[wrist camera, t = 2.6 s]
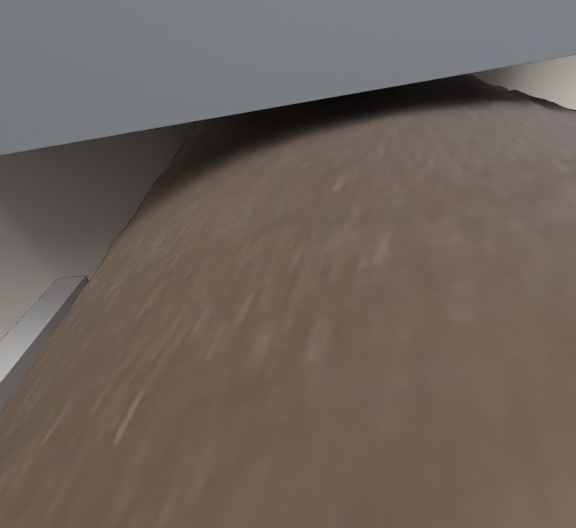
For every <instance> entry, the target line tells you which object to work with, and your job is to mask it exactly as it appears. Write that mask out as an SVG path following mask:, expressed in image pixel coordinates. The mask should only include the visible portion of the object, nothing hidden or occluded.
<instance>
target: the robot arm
mask: <svg viewBox="0 0 576 528" xmlns="http://www.w3.org/2000/svg"><path fill="white" fill-rule="evenodd" d="M88 283H89V280H88V278H87V276H86V275H82V276H75V277H69V278H62V279H56V280H55V281H54V283H53V284H52V285H51V286H50V287H49V288H48V289H47V290H46V291H45V293H44V294H43V295H42V296H41V297H40V298H39V299H38V300H37V301H36V303H35V304H34V305H33V306H32V307H31V308H30V309H29V310H28V311H27V313H26V314H25V315H24V316H23V317H22V318H21V319H20V320H19V321H18V323H17V324H16V325H15V326H14V327H13V328H12V329H11V330H10V331H9V333H8V334H7V335H6V336H5V337H4V338H3V339H2V340H1V341H0V412H1V411H2V409H3V408H4V406H5V405H6V403H7V402H8V400H9V398H10V397H11V395H12V394H13V393H14V391H15V390H16V388H17V387H18V385H19V384H20V382H21V380H22V379H23V377H24V376H25V374H26V372H27V371H28V369H29V368H30V366H31V364H32V363H33V361H34V360H35V358H36V357H37V355H38V353H39V352H40V350H41V349H42V347H43V346H44V345H45V343H46V342H47V341H48V339H49V338H50V337H51V335H52V334H53V333H54V331H55V330H56V329H57V328H58V326H59V325H60V324H61V322H62V321H63V319H64V318H65V316H66V315H67V313H68V311H69V310H70V308H71V307H72V305H73V304H74V302H75V301H76V299H77V297H78V295H79V294H80V292H81V291H82V290H83V288H84V287H85V286H86V285H87V284H88Z"/></svg>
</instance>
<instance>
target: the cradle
mask: <svg viewBox="0 0 576 528" xmlns="http://www.w3.org/2000/svg"><path fill="white" fill-rule="evenodd" d="M571 55H576V0H0V155H5V154H10V153H16V152H22V151H27V150H33V149H39V148H45V147H50V146H56V145H62V144H68V143H73V142H79V141H85V140H90V139H96V138H102V137H108V136H113V135H119V134H125V133H130V132H136V131H142V130H148V129H153V128H159V127H165V126H170V125H176V124H182V123H188V122H193V121H199V120H205V119H210V118H216V117H222V116H228V115H233V114H239V113H245V112H251V111H256V110H262V109H268V108H273V107H279V106H285V105H291V104H296V103H302V102H308V101H313V100H319V99H325V98H331V97H336V96H342V95H348V94H353V93H359V92H365V91H371V90H376V89H382V88H388V87H393V86H399V85H405V84H411V83H416V82H422V81H428V80H434V79H439V78H445V77H451V76H456V75H462V74H468V73H474V72H479V71H485V70H491V69H496V68H502V67H508V66H514V65H519V64H525V63H531V62H536V61H542V60H548V59H554V58H559V57H565V56H571Z"/></svg>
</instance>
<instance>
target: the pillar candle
mask: <svg viewBox="0 0 576 528" xmlns="http://www.w3.org/2000/svg"><path fill="white" fill-rule="evenodd" d="M0 528H576V110H572V109H567V108H565V107H562V106H560V105H558V104H556V103H554V102H550V101H547V100H545V99H540V98H536V97H532V96H529V95H527V94H525V93H522V92H519V91H517V90H512V91H509V90H508V89H506V88H504V87H502V86H493V85H490V84H487V83H484V82H483V81H482V80H480V79H478V78H477V77H476V76H474V75H473V74H462V75H456V76H451V77H445V78H439V79H434V80H428V81H422V82H416V83H411V84H405V85H399V86H393V87H388V88H382V89H376V90H371V91H365V92H359V93H353V94H348V95H342V96H336V97H331V98H325V99H319V100H313V101H308V102H302V103H296V104H291V105H285V106H279V107H273V108H268V109H262V110H256V111H251V112H245V113H239V114H233V115H228V116H222V117H216V118H210V119H205V120H199V121H198V123H197V124H196V125H195V127H194V128H193V130H192V131H191V133H190V134H189V136H188V137H187V139H186V140H185V142H184V143H183V144H182V146H181V148H180V149H179V150H178V152H177V153H176V155H175V156H174V158H173V159H172V161H171V162H170V164H169V166H168V168H167V169H166V171H165V172H164V174H162V175H161V176H160V177H159V178H158V179H157V181H156V183H155V184H154V185H153V187H152V189H151V191H150V192H149V193H148V195H147V196H146V197H145V199H144V201H143V202H142V204H141V206H140V207H139V209H138V211H137V213H136V214H135V215H134V217H133V218H132V219H131V220H130V221H129V222H128V224H127V226H126V227H125V229H124V230H123V231H122V232H121V233H120V234H119V235H118V236H117V238H116V239H115V240H114V242H113V243H112V245H111V247H110V249H109V251H108V253H107V255H106V257H105V258H104V260H103V262H102V263H101V265H100V266H99V268H98V269H97V271H96V273H95V274H94V275H93V276H92V278H91V279H90V281H89V283H88V284H87V285H86V286H85V287H84V288H83V290H82V291H81V292H80V294H79V295H78V297H77V299H76V301H75V302H74V304H73V305H72V307H71V308H70V310H69V311H68V313H67V315H66V316H65V318H64V319H63V321H62V322H61V324H60V325H59V326H58V328H57V329H56V330H55V331H54V333H53V334H52V335H51V337H50V338H49V339H48V341H47V342H46V343H45V345H44V346H43V347H42V349H41V350H40V352H39V353H38V355H37V357H36V358H35V360H34V361H33V363H32V364H31V366H30V368H29V369H28V371H27V372H26V374H25V376H24V377H23V379H22V380H21V382H20V384H19V385H18V387H17V388H16V390H15V391H14V393H13V394H12V395H11V397H10V398H9V400H8V402H7V403H6V405H5V406H4V408H3V409H2V411H1V412H0Z"/></svg>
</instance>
